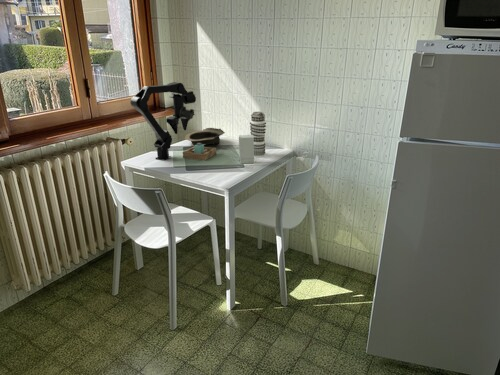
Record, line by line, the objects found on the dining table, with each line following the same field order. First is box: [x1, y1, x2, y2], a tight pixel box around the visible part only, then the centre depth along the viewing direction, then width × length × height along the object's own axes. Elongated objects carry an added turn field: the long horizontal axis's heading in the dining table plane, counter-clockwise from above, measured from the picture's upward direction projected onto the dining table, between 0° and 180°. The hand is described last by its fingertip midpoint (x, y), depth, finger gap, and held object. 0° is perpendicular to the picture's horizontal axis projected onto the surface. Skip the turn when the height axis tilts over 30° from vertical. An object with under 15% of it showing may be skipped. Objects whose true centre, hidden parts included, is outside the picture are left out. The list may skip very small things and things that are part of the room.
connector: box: [193, 143, 205, 154], centre depth 223 cm, size 4×4×7 cm
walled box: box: [182, 146, 217, 162], centre depth 224 cm, size 14×14×4 cm
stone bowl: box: [184, 127, 226, 147], centre depth 245 cm, size 25×25×9 cm
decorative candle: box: [249, 111, 267, 158], centre depth 220 cm, size 9×9×25 cm
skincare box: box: [238, 134, 255, 164], centre depth 211 cm, size 8×6×15 cm
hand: (180, 132), depth 224 cm, fingers open, 9 cm apart
